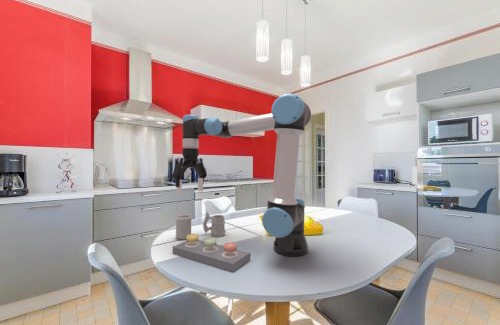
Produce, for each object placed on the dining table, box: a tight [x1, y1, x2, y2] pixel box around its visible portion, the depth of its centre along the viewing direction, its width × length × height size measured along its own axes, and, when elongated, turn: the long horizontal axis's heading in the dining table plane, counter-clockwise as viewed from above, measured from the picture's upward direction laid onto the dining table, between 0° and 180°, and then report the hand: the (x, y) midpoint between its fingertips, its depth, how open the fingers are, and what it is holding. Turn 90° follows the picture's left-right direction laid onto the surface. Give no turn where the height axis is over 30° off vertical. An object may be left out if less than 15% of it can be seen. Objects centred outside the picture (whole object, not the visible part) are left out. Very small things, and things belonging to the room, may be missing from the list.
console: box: [172, 239, 251, 273], centre depth 97 cm, size 31×12×3 cm, turn 59°
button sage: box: [203, 237, 218, 247], centre depth 97 cm, size 5×5×2 cm
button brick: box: [223, 241, 238, 252], centre depth 92 cm, size 5×5×2 cm
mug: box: [202, 211, 226, 238], centre depth 125 cm, size 8×12×12 cm, turn 91°
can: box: [175, 212, 192, 241], centre depth 120 cm, size 8×8×12 cm
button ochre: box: [186, 233, 199, 242], centre depth 102 cm, size 5×5×2 cm
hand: (190, 192), depth 113 cm, fingers open, 13 cm apart
